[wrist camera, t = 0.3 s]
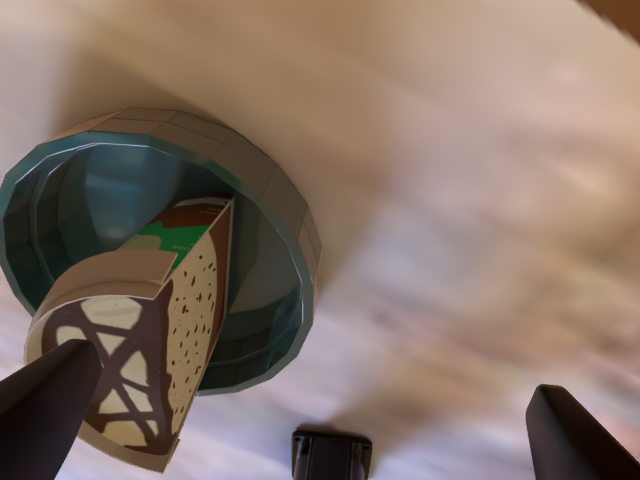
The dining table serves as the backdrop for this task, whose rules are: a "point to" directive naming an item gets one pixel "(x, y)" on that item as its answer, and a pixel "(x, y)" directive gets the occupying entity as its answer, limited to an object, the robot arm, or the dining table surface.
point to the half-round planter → (145, 326)
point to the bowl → (150, 200)
